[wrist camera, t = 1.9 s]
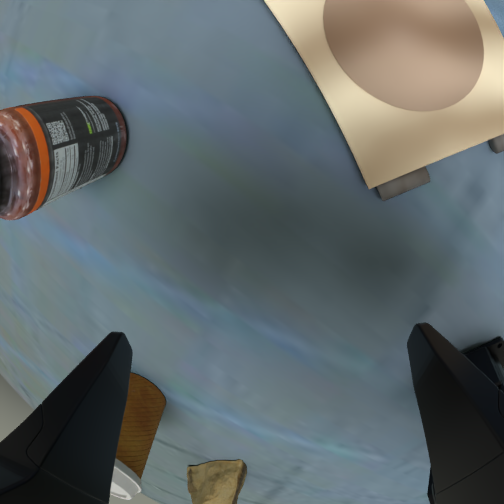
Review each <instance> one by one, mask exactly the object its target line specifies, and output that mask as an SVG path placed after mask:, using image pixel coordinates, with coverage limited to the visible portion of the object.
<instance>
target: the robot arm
mask: <svg viewBox="0 0 504 504" xmlns="http://www.w3.org/2000/svg"><path fill="white" fill-rule="evenodd" d="M407 348H408V354H409V360H410V366H411V372H412V379H413V385H414V390H415V394H416V398H417V402H418V406H419V410H420V415H421V419H422V423H423V428H424V433H425V437H426V442H427V447H428V452H429V458H430V463H431V468H430V477H429V485H428V493H427V495H428V498H429V501H430V504H504V340H503V339H502V338H498V339H496V340H494V341H491V342H489V343H487V344H485V345H483V346H480V347H478V348H476V349H474V350H471V351H469V352H467V353H464V354H462V353H461V352H460V351H459V350H458V349H457V348H455V347H454V346H453V345H452V344H451V343H450V342H449V341H448V340H447V339H446V338H444V337H443V336H442V335H441V334H440V333H439V332H438V331H437V330H435V329H434V328H433V327H432V326H431V325H430V324H428V323H417V324H416V325H415V326H414V327H413V330H412V332H411V334H410V336H409V339H408V342H407ZM131 363H132V348H131V346H130V344H129V342H128V340H127V338H126V335H125V334H124V333H123V332H111V333H109V334H108V335H107V336H106V337H105V338H104V339H103V340H102V341H101V342H100V343H99V344H98V345H97V346H96V347H95V348H94V349H93V350H92V351H91V352H90V353H89V354H88V355H87V356H86V357H85V358H84V359H83V360H82V361H81V362H80V363H79V365H78V366H77V367H76V368H75V369H74V370H73V371H72V372H71V373H70V374H69V375H68V376H67V377H66V378H65V379H64V380H63V381H62V382H61V383H60V384H59V385H58V386H57V387H56V388H55V389H54V390H53V391H52V392H51V393H50V394H49V396H48V397H47V398H46V399H45V400H44V401H43V402H42V404H40V405H39V406H38V407H37V408H36V409H35V410H34V411H33V413H32V414H31V415H29V417H27V419H26V420H25V421H24V422H22V423H21V424H20V425H19V426H18V427H17V428H16V429H15V430H14V431H13V432H11V433H10V434H9V435H8V436H7V437H6V438H5V439H3V440H2V441H1V442H0V504H109V497H110V490H111V484H112V477H113V471H114V465H115V459H116V453H117V447H118V442H119V437H120V432H121V426H122V421H123V417H124V412H125V407H126V402H127V397H128V389H129V380H130V371H131Z"/></svg>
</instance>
